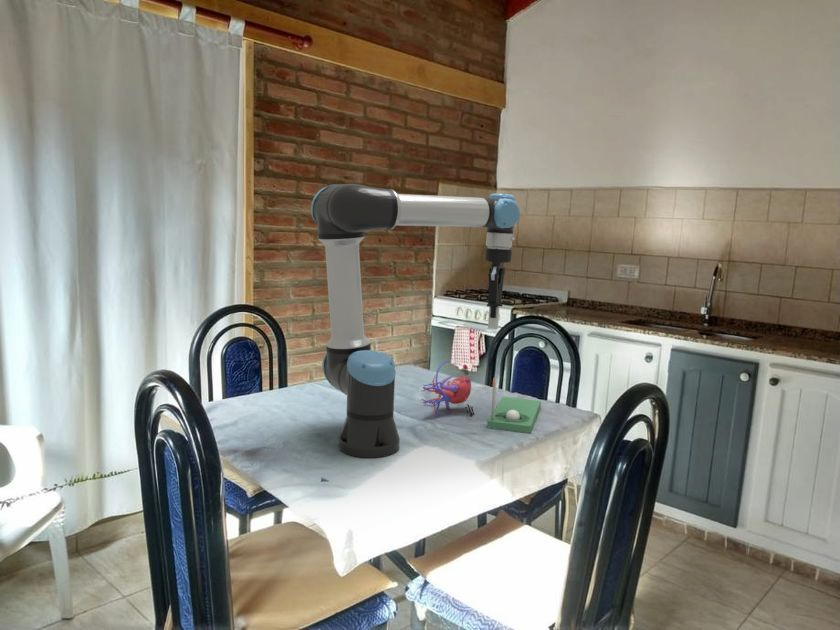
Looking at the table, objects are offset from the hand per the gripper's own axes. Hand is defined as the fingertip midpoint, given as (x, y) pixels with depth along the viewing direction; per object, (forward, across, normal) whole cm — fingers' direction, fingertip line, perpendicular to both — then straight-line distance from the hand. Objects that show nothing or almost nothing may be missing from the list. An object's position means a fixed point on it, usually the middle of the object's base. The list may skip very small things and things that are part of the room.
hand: (492, 328), depth 190 cm
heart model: (+26, -6, +9) cm, 28 cm away
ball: (+24, -8, -9) cm, 26 cm away
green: (+25, -1, -9) cm, 27 cm away
